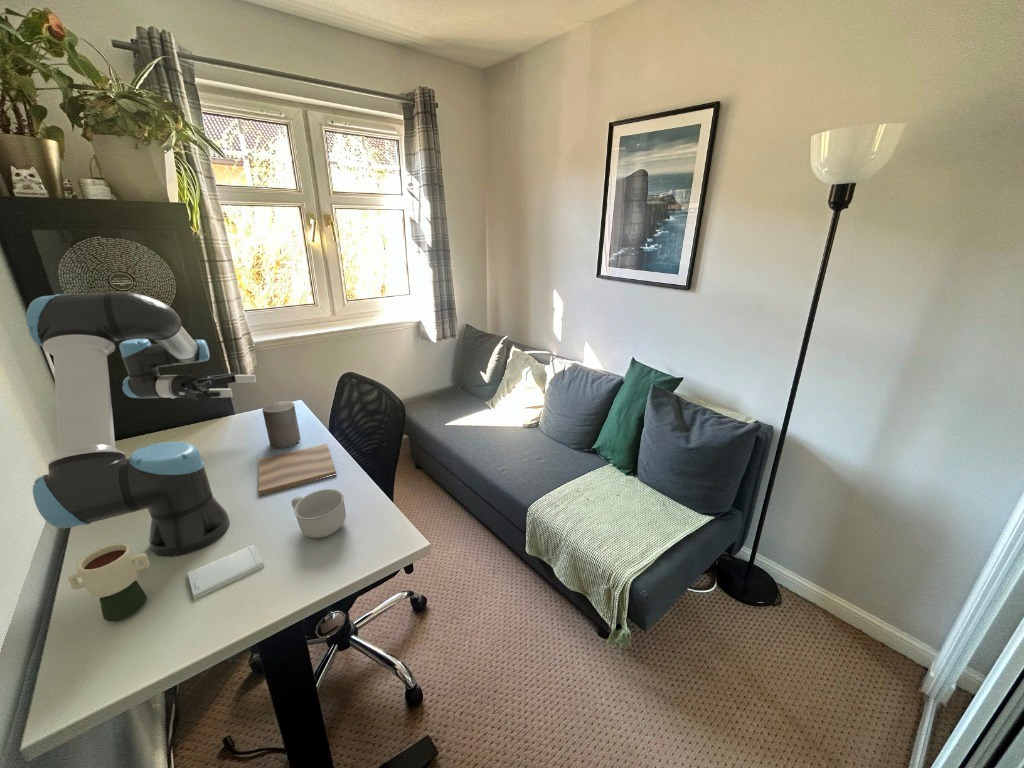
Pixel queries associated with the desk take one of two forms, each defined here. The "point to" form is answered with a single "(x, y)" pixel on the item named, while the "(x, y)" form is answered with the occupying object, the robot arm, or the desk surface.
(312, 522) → the teacup
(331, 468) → the wooden board
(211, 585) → the hard drive
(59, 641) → the desk surface
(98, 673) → the desk surface
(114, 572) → the character mug
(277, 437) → the pillar candle
